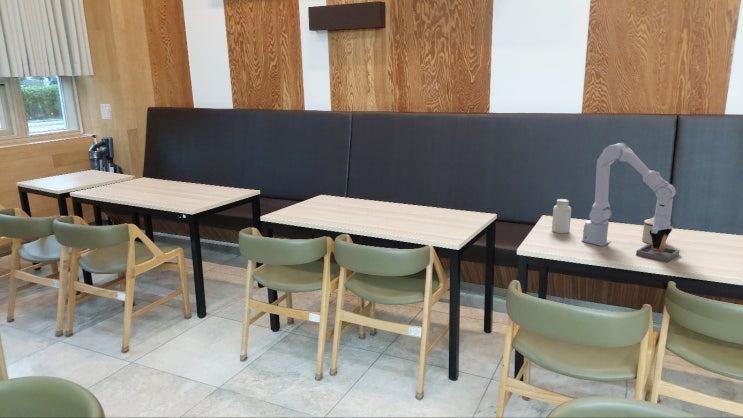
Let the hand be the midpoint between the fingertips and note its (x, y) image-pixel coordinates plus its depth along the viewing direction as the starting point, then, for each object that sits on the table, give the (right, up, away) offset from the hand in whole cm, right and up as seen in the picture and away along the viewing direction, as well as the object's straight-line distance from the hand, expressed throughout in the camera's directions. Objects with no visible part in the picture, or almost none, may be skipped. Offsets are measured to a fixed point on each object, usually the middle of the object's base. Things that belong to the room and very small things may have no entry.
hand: (658, 246), depth 223 cm
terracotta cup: (0, -2, 0) cm, 2 cm away
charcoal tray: (0, -3, +1) cm, 4 cm away
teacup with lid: (+8, +1, +19) cm, 21 cm away
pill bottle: (-28, +5, +34) cm, 45 cm away
